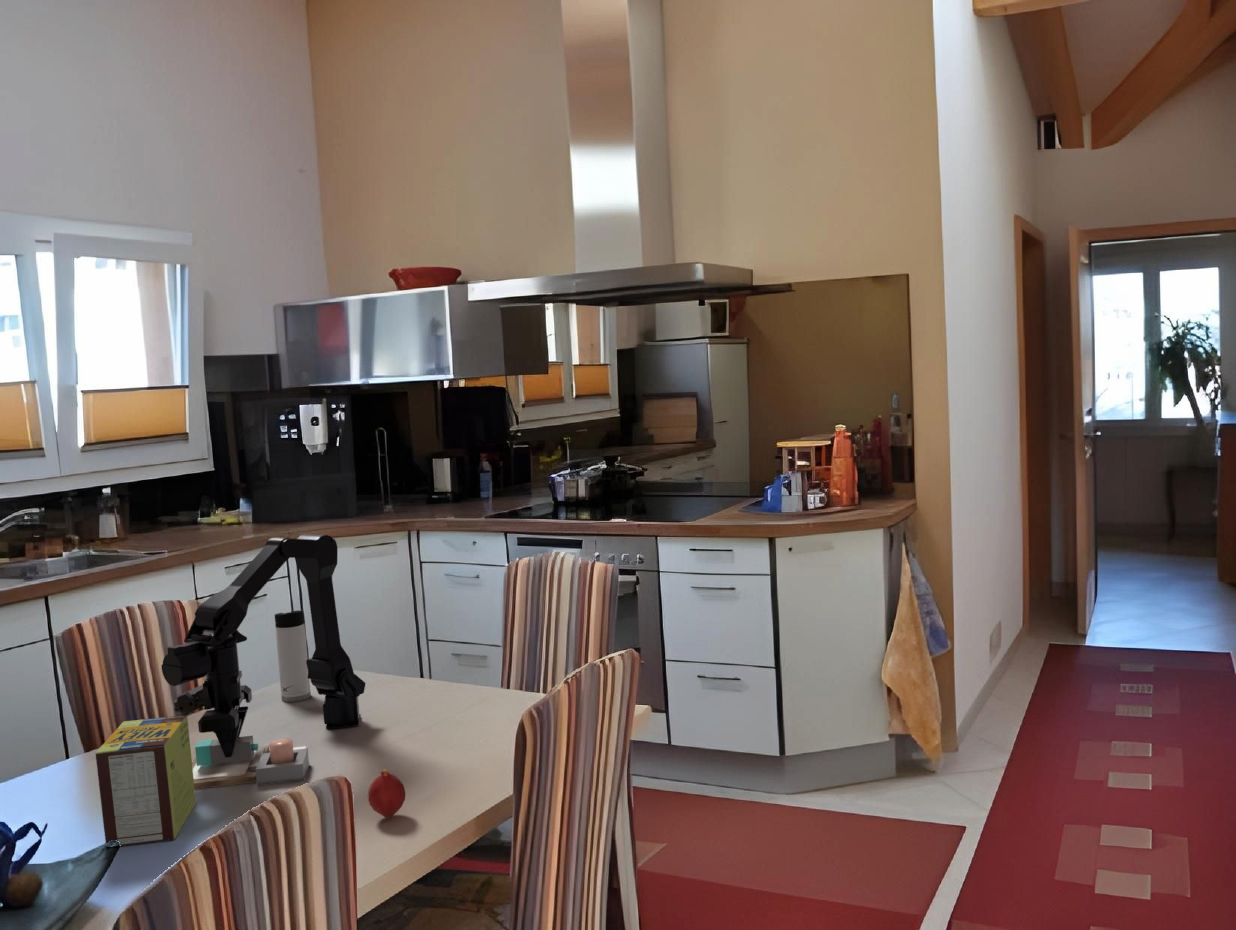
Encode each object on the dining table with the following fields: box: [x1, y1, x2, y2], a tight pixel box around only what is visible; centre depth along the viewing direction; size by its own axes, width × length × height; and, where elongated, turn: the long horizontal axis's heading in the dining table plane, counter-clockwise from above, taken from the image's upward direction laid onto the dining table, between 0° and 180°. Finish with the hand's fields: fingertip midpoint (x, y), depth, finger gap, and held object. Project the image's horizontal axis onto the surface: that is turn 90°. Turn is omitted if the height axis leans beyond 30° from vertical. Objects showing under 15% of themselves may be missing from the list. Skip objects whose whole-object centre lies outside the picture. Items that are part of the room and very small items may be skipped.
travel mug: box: [274, 609, 312, 703], centre depth 239 cm, size 6×7×20 cm
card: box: [293, 745, 307, 750], centre depth 204 cm, size 6×5×1 cm
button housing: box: [256, 748, 310, 787], centre depth 193 cm, size 8×8×3 cm
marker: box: [194, 735, 259, 766], centre depth 197 cm, size 10×4×4 cm, turn 100°
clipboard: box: [192, 745, 270, 790], centre depth 198 cm, size 13×16×2 cm
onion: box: [367, 769, 406, 819], centre depth 172 cm, size 6×6×8 cm
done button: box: [268, 738, 294, 765], centre depth 193 cm, size 4×4×4 cm
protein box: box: [95, 715, 196, 847], centre depth 174 cm, size 10×15×16 cm
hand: (230, 753), depth 198 cm, fingers closed on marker, 3 cm apart
